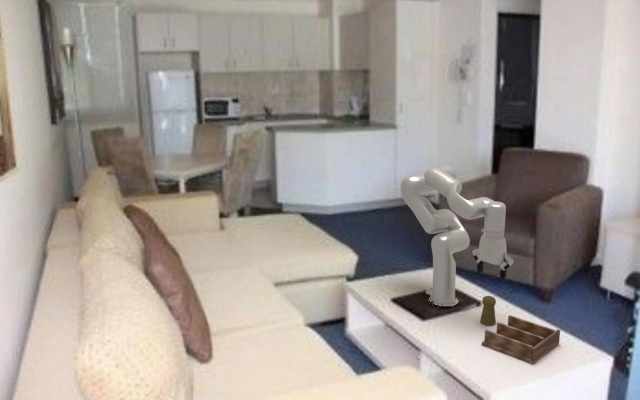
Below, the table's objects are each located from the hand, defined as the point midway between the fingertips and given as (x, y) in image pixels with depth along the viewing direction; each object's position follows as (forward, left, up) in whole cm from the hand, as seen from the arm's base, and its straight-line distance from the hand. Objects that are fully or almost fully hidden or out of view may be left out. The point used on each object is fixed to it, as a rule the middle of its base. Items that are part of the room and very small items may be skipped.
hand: (491, 275), depth 224 cm
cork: (0, 0, -20) cm, 20 cm away
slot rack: (+18, -8, -20) cm, 28 cm away
